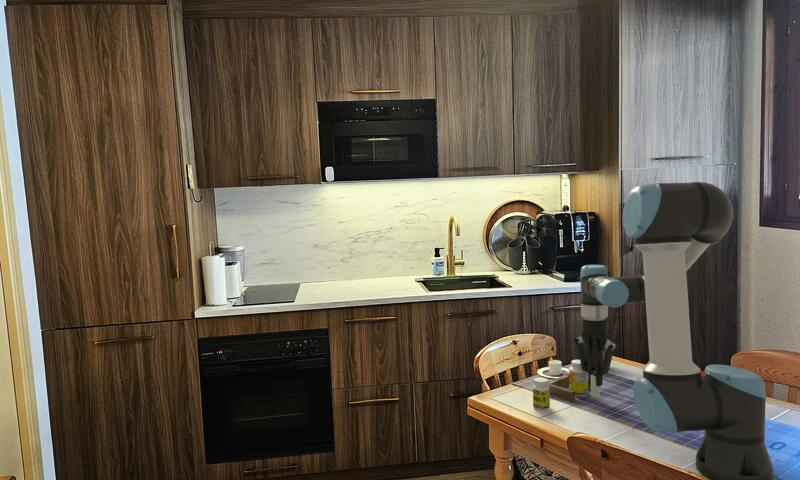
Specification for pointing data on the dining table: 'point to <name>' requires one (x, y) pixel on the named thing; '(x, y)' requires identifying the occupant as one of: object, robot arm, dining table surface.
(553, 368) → the candle holder
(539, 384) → the supplement bottle
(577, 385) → the supplement bottle
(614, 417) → the dining table surface
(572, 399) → the pocket
